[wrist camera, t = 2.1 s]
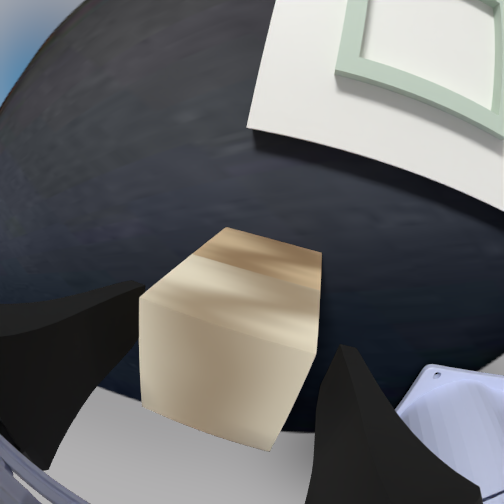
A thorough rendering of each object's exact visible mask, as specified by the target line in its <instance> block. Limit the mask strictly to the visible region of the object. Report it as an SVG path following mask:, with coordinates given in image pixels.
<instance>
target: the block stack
mask: <svg viewBox="0 0 504 504" xmlns="http://www.w3.org/2000/svg"><path fill="white" fill-rule="evenodd" d="M321 262H322V253H320V252H316V251H313V250H309V249H305V248H302V247H298V246H295V245H291V244H287V243H284V242H280V241H276V240H273V239H269V238H265V237H261V236H258V235H254V234H250V233H247V232H243V231H239V230H235V229H231V228H228V227H226V228H224V229H223V230H222V231H221V232H219V233H218V234H217V235H216V236H214V237H213V238H212V239H210V240H209V241H208V242H207V243H205V244H204V245H203V246H202V247H200V248H199V249H198V250H197V251H195V252H194V253H193V254H192V255H190V256H189V257H188V258H187V259H185V260H184V261H183V262H182V263H180V264H179V265H178V266H177V267H175V268H174V269H173V270H172V271H171V272H169V273H168V274H167V275H166V276H164V277H163V278H162V279H161V280H160V281H158V282H157V283H156V284H155V285H153V286H152V287H151V288H150V289H149V290H147V291H146V292H145V293H144V294H143V295H141V296H140V297H139V357H140V381H141V397H142V407H144V408H146V409H149V410H151V411H153V412H155V413H158V414H160V415H162V416H164V417H167V418H169V419H172V420H174V421H177V422H179V423H182V424H184V425H187V426H189V427H192V428H195V429H198V430H200V431H203V432H206V433H208V434H211V435H214V436H217V437H220V438H223V439H227V440H229V441H233V442H236V443H239V444H243V445H246V446H250V447H253V448H257V449H261V450H264V451H268V452H270V450H271V448H272V446H273V445H274V442H275V441H276V439H277V437H278V435H279V433H280V431H281V429H282V427H283V425H284V423H285V421H286V419H287V417H288V415H289V413H290V411H291V409H292V407H293V405H294V403H295V400H296V398H297V396H298V394H299V392H300V390H301V388H302V385H303V383H304V381H305V379H306V376H307V374H308V372H309V370H310V367H311V365H312V363H313V360H314V358H315V356H316V352H317V339H318V324H319V308H320V289H321Z"/></svg>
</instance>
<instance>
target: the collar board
mask: <svg viewBox="0 0 504 504" xmlns="http://www.w3.org/2000/svg"><path fill="white" fill-rule="evenodd" d="M247 128H250V129H254V130H259V131H264V132H269V133H274V134H278V135H283V136H288V137H292V138H296V139H301V140H305V141H309V142H313V143H317V144H321V145H325V146H328V147H332V148H336V149H339V150H343V151H346V152H350V153H353V154H357V155H360V156H363V157H367V158H370V159H373V160H376V161H379V162H382V163H385V164H388V165H391V166H394V167H397V168H400V169H403V170H406V171H409V172H411V173H414V174H417V175H420V176H422V177H425V178H428V179H430V180H433V181H435V182H438V183H440V184H443V185H445V186H448V187H450V188H453V189H455V190H457V191H460V192H462V193H464V194H467V195H469V196H471V197H473V198H476V199H478V200H480V201H482V202H484V203H486V204H488V205H491V206H493V207H495V208H497V209H499V210H501V211H503V212H504V0H276V3H275V7H274V11H273V15H272V19H271V23H270V27H269V31H268V35H267V39H266V43H265V48H264V52H263V56H262V60H261V65H260V69H259V73H258V78H257V82H256V87H255V91H254V96H253V100H252V105H251V109H250V114H249V119H248V123H247Z"/></svg>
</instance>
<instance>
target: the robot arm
mask: <svg viewBox="0 0 504 504" xmlns="http://www.w3.org/2000/svg"><path fill="white" fill-rule="evenodd" d="M144 293H145V285H143V284H140V283H138V282H135V281H132V280H131V281H125V282H121V283H117V284H113V285H110V286H106V287H103V288H99V289H95V290H92V291H88V292H85V293H81V294H76V295H72V296H68V297H64V298H59V299H54V300H49V301H42V302H34V303H21V304H0V504H41V503H40V502H39V501H38V500H37V499H36V498H35V497H34V496H33V495H32V494H31V493H30V492H29V491H28V490H27V489H26V488H25V487H23V485H21V484H20V483H19V482H18V481H17V480H16V479H15V478H14V477H13V472H15V473H16V474H17V475H18V476H19V477H20V478H21V479H22V480H24V481H25V482H26V483H27V484H28V485H30V486H31V487H32V488H33V489H34V490H36V491H37V492H38V493H39V494H41V495H42V496H43V497H45V498H46V499H47V500H49V501H50V502H51V503H53V504H90V503H88V502H87V501H85V500H83V499H82V498H80V497H79V496H77V495H76V494H74V493H73V492H71V491H70V490H68V489H67V488H65V487H64V486H62V485H61V484H60V483H58V482H57V481H55V480H54V479H52V478H51V477H50V476H49V475H47V474H46V473H45V472H43V471H44V470H48V469H49V467H50V465H51V463H52V460H53V458H54V456H55V454H56V452H57V449H58V447H59V445H60V443H61V441H62V440H63V438H64V436H65V434H66V432H67V430H68V429H69V427H70V425H71V423H72V422H73V420H74V419H75V417H76V415H77V414H78V412H79V410H80V409H81V407H82V406H83V404H84V403H85V402H86V400H87V399H88V397H89V396H90V394H91V393H92V391H93V390H94V389H95V388H96V387H97V386H98V384H99V383H100V382H101V381H102V380H103V379H104V378H105V377H106V376H107V375H108V373H109V372H110V371H111V370H112V369H113V368H114V367H115V366H116V365H117V364H118V363H119V361H120V360H121V359H122V358H123V357H124V356H125V355H126V354H127V353H128V351H129V350H130V349H131V348H132V347H133V345H134V344H135V342H136V341H137V339H138V338H139V297H140V296H141V295H143V294H144ZM437 372H438V373H437ZM435 373H437V374H436V375H434V374H435ZM12 471H13V472H12ZM305 504H504V375H497V374H490V373H483V372H477V371H470V370H464V369H458V368H452V367H446V366H440V365H435V364H429V365H427V366H425V367H424V368H423V369H422V370H421V372H420V374H419V375H418V377H417V378H416V380H415V381H414V383H413V384H412V386H411V387H410V389H409V390H408V392H407V393H406V395H405V396H404V398H403V399H402V401H401V402H400V403H399V405H398V406H397V408H396V409H395V410H394V408H393V407H392V405H391V404H390V403H389V401H388V400H387V398H386V397H385V395H384V394H383V392H382V391H381V389H380V387H379V386H378V384H377V382H376V381H375V379H374V377H373V376H372V374H371V372H370V371H369V369H368V367H367V365H366V364H365V362H364V360H363V358H362V357H361V355H360V353H359V352H358V350H357V348H354V347H350V346H345V345H341V344H340V345H339V347H338V349H337V352H336V354H335V356H334V358H333V360H332V362H331V365H330V367H329V369H328V371H327V373H326V375H325V377H324V379H323V381H322V383H321V385H320V390H319V396H318V402H317V408H316V424H315V445H314V460H313V468H312V474H311V479H310V485H309V489H308V493H307V497H306V501H305Z"/></svg>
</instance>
